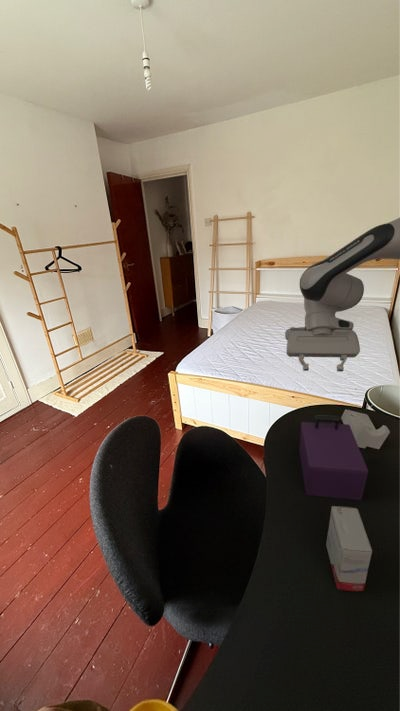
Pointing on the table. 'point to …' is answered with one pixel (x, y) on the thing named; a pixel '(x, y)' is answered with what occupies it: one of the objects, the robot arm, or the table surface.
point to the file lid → (332, 446)
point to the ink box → (348, 548)
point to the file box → (331, 480)
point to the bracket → (364, 429)
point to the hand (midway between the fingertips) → (322, 370)
